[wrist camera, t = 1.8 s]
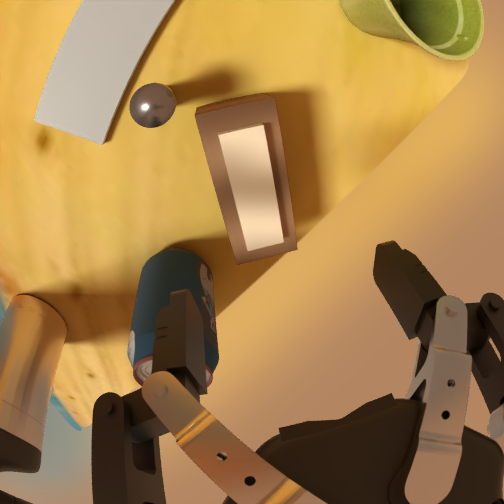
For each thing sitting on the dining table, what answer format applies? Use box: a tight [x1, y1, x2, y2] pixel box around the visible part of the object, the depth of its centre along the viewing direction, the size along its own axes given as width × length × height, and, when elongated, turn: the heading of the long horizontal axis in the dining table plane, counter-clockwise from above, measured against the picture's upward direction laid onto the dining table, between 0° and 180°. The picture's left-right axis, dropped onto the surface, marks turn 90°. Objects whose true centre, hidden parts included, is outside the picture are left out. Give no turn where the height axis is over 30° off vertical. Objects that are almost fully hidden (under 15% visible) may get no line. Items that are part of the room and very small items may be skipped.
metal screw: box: [130, 83, 176, 128], centre depth 16 cm, size 3×3×5 cm
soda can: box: [127, 248, 219, 387], centre depth 23 cm, size 7×7×12 cm
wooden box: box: [195, 93, 297, 265], centre depth 21 cm, size 12×5×5 cm, turn 11°
